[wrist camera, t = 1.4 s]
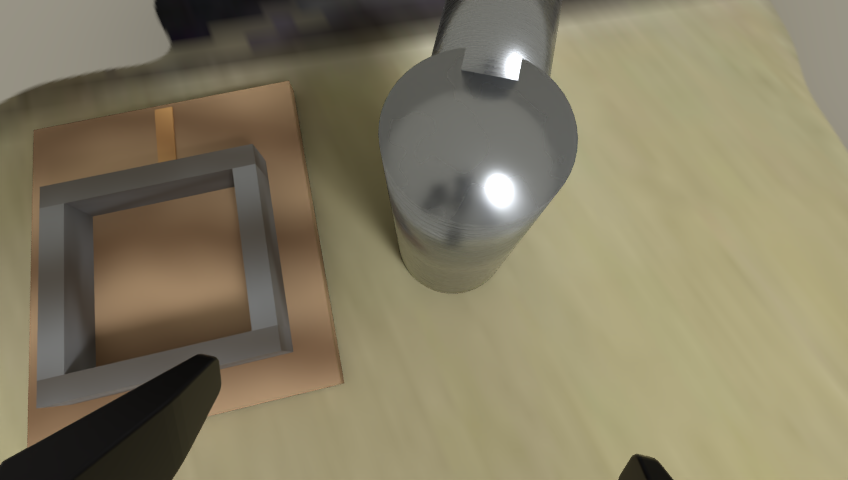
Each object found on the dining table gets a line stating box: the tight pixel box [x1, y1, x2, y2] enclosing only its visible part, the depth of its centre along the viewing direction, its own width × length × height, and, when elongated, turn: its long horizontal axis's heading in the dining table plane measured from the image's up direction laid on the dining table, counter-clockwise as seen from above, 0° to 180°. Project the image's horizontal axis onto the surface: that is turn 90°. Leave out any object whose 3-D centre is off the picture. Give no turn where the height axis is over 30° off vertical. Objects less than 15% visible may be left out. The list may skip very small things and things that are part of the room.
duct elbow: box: [378, 0, 578, 293], centre depth 19 cm, size 10×6×12 cm, turn 168°
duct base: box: [27, 81, 344, 448], centre depth 23 cm, size 18×15×3 cm
